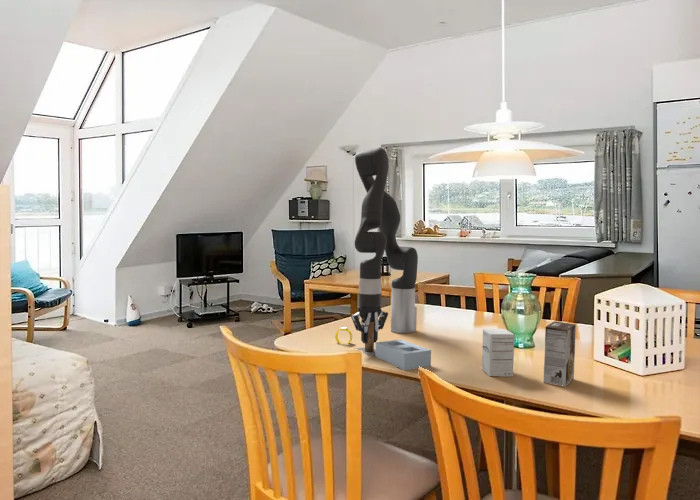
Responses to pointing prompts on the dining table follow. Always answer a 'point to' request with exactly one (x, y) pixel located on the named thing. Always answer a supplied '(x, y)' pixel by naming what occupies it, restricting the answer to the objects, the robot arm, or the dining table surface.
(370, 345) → the dowel
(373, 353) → the mat
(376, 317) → the robot arm
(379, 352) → the hole block
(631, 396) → the dining table surface
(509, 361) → the supplement box
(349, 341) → the watch
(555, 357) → the coffee box
